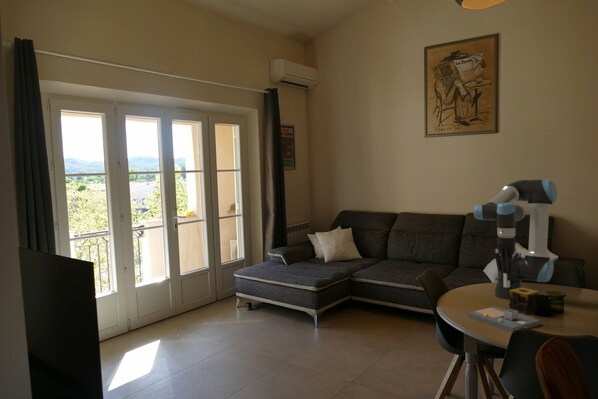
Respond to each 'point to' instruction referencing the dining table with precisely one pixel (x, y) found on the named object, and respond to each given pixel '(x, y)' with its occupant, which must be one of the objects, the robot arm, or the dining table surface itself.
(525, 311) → the brown and yellow box
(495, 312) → the breaker panel
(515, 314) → the breaker slider
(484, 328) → the dining table surface
